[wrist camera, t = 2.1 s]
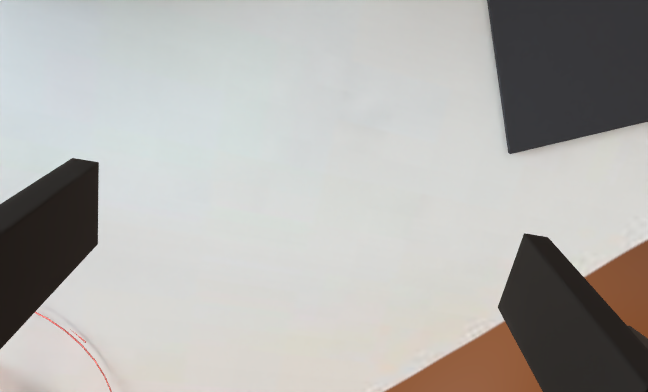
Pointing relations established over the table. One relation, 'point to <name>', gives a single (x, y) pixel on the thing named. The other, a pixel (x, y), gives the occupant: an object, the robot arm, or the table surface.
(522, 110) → the mat
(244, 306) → the table surface
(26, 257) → the robot arm
